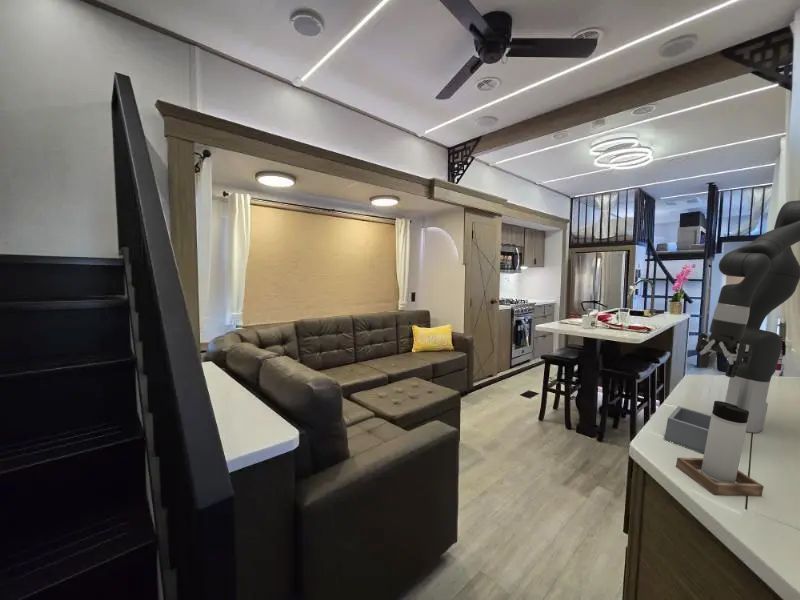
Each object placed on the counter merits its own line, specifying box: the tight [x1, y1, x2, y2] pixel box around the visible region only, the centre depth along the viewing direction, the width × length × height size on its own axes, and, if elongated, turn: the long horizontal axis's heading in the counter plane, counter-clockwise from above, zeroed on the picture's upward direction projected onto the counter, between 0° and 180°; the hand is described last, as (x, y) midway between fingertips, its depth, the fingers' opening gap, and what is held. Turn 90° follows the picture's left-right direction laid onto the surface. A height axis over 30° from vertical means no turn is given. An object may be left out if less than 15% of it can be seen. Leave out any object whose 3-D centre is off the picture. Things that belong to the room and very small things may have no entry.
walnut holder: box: [675, 457, 765, 497], centre depth 85 cm, size 12×11×2 cm
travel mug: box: [700, 400, 749, 483], centre depth 83 cm, size 6×7×20 cm
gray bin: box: [663, 405, 712, 455], centre depth 102 cm, size 14×14×7 cm
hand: (715, 371), depth 104 cm, fingers open, 8 cm apart
